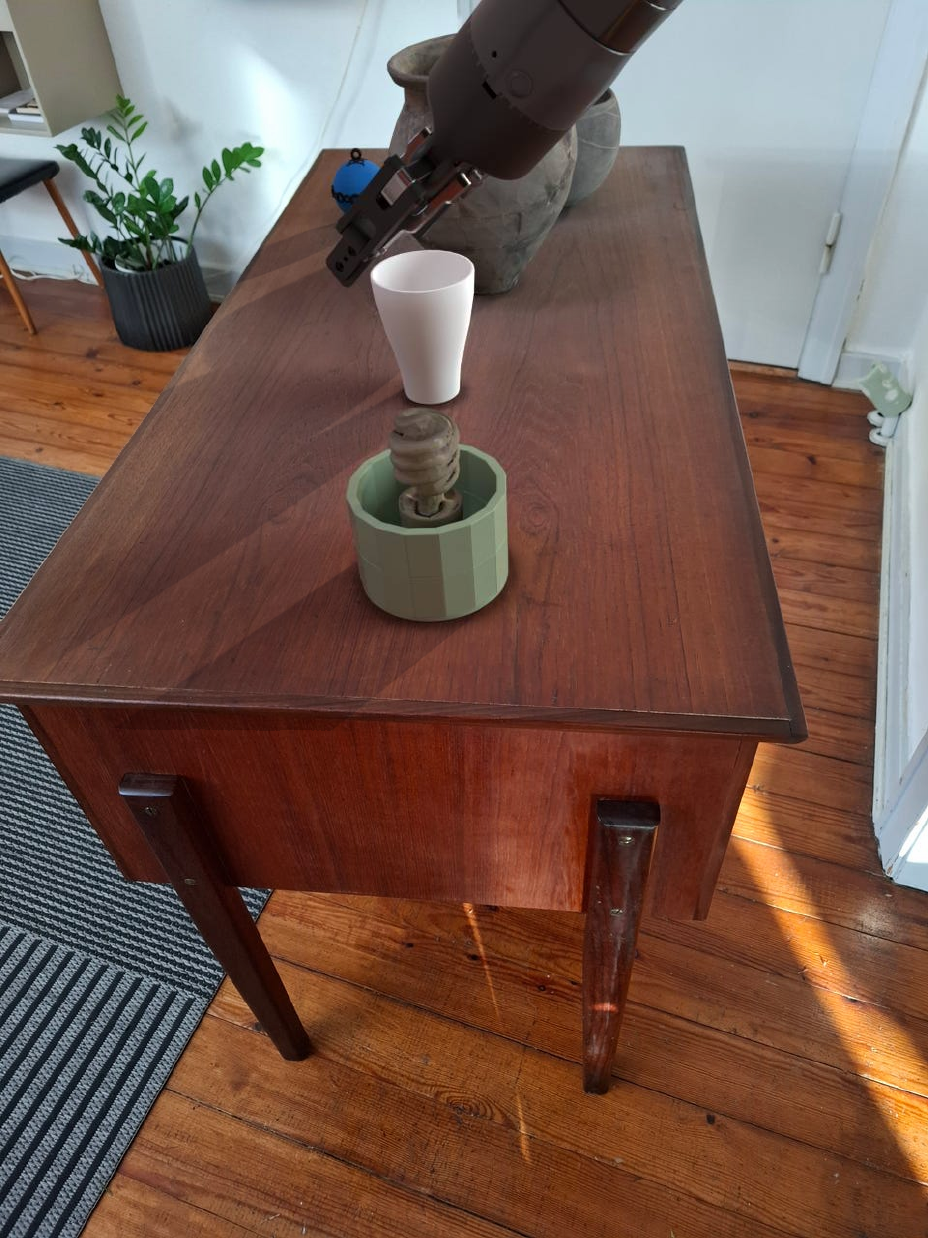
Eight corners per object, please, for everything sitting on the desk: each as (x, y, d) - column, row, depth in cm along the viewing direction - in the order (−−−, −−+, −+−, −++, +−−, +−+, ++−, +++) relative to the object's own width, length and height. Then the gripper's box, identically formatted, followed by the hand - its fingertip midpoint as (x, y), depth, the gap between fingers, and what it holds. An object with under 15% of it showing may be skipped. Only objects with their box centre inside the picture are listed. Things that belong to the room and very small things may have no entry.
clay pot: (574, 292, 123) (568, 44, 114) (589, 277, 99) (582, -39, 90) (406, 303, 124) (388, 60, 116) (381, 291, 100) (356, -18, 92)
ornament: (394, 207, 141) (387, 138, 134) (387, 227, 135) (379, 156, 128) (341, 208, 142) (331, 140, 135) (331, 229, 136) (321, 158, 129)
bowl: (604, 174, 147) (610, 70, 137) (629, 221, 132) (637, 107, 121) (478, 184, 147) (473, 80, 136) (488, 232, 132) (484, 119, 121)
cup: (463, 421, 94) (455, 296, 85) (371, 409, 97) (353, 287, 87) (491, 372, 101) (487, 253, 92) (404, 363, 104) (392, 246, 94)
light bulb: (472, 585, 74) (462, 428, 64) (407, 593, 74) (387, 437, 64) (463, 543, 78) (452, 389, 68) (401, 551, 78) (381, 398, 68)
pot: (387, 639, 71) (373, 552, 65) (345, 548, 80) (329, 463, 73) (532, 595, 74) (531, 508, 68) (476, 512, 82) (471, 427, 76)
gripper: (545, -27, 50) (394, 168, 63) (412, 27, 41) (268, 242, 54) (626, 88, 52) (464, 256, 64) (515, 162, 43) (352, 340, 55)
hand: (375, 249), depth 59 cm, fingers open, 8 cm apart
